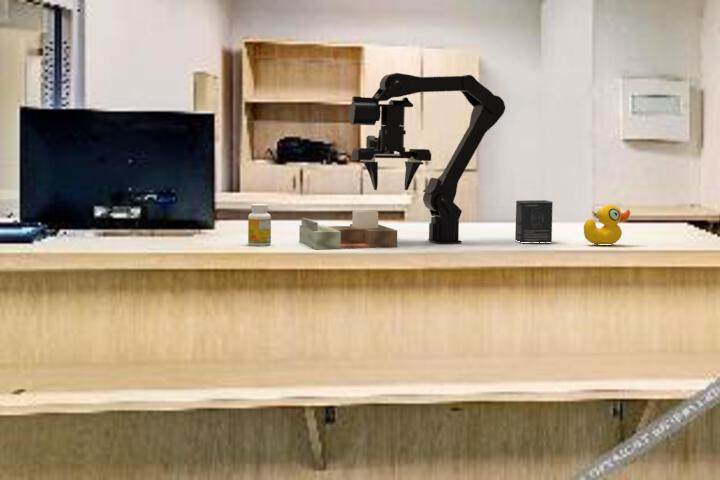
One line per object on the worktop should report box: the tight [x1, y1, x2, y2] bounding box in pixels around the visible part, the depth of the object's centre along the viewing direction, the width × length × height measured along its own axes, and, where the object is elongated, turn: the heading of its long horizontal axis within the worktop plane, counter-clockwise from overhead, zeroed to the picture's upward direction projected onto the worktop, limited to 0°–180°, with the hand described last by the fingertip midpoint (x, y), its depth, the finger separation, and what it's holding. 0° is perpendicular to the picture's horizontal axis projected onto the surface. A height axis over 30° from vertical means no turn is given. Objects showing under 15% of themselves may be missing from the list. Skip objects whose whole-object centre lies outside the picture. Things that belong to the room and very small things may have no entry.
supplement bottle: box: [247, 203, 272, 247], centre depth 223 cm, size 5×5×10 cm
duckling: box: [583, 204, 631, 245], centre depth 231 cm, size 11×5×10 cm, turn 95°
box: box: [514, 199, 553, 244], centre depth 235 cm, size 8×6×11 cm
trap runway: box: [298, 217, 398, 250], centre depth 227 cm, size 20×16×6 cm
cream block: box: [351, 209, 379, 229], centre depth 228 cm, size 5×5×4 cm
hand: (390, 190), depth 229 cm, fingers open, 8 cm apart
